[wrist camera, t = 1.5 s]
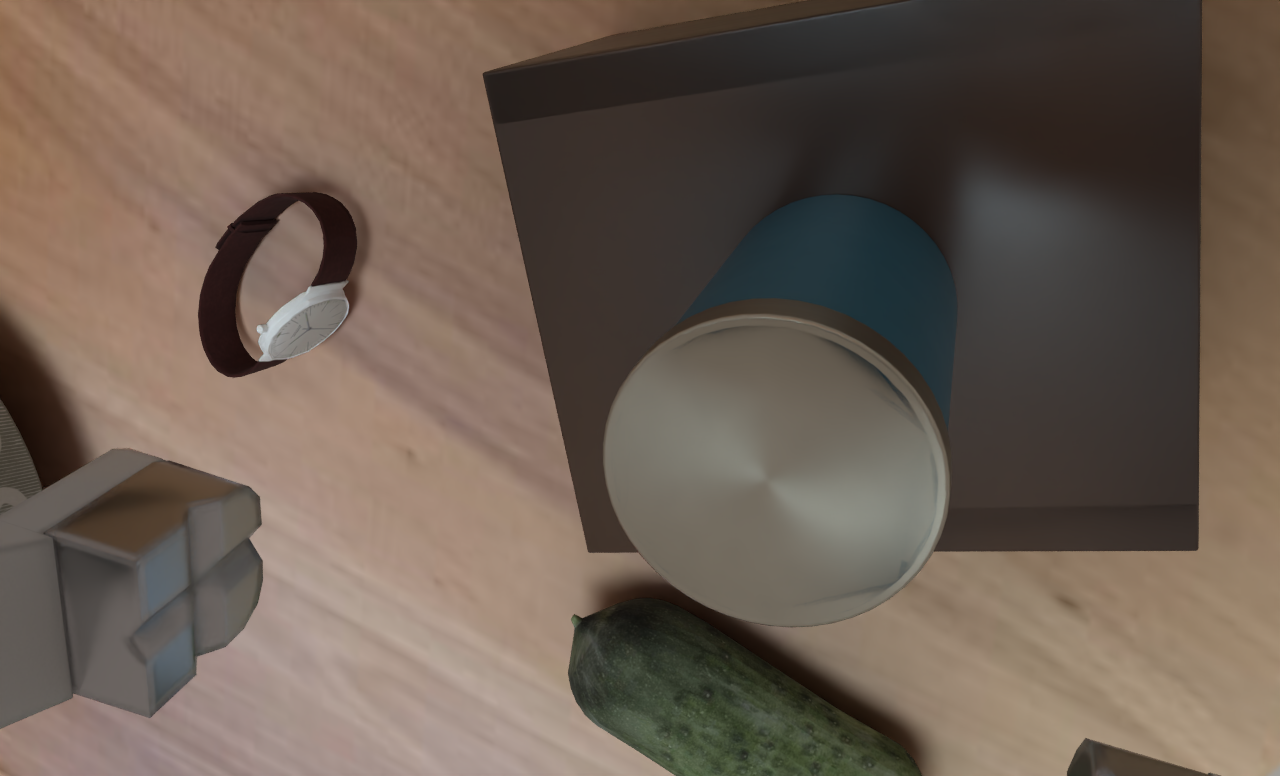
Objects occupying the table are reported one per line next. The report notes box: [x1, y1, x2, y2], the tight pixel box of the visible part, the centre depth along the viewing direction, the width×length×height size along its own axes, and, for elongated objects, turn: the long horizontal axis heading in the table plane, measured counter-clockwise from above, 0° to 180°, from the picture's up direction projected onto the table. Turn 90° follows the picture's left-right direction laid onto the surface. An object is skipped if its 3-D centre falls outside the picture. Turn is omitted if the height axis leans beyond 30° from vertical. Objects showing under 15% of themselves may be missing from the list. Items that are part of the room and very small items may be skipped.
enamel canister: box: [603, 194, 957, 627], centre depth 19 cm, size 5×5×8 cm
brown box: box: [483, 0, 1202, 553], centre depth 27 cm, size 14×12×9 cm
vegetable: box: [568, 598, 922, 776], centre depth 36 cm, size 14×5×5 cm, turn 62°
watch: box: [198, 192, 357, 378], centre depth 36 cm, size 8×5×4 cm, turn 140°
